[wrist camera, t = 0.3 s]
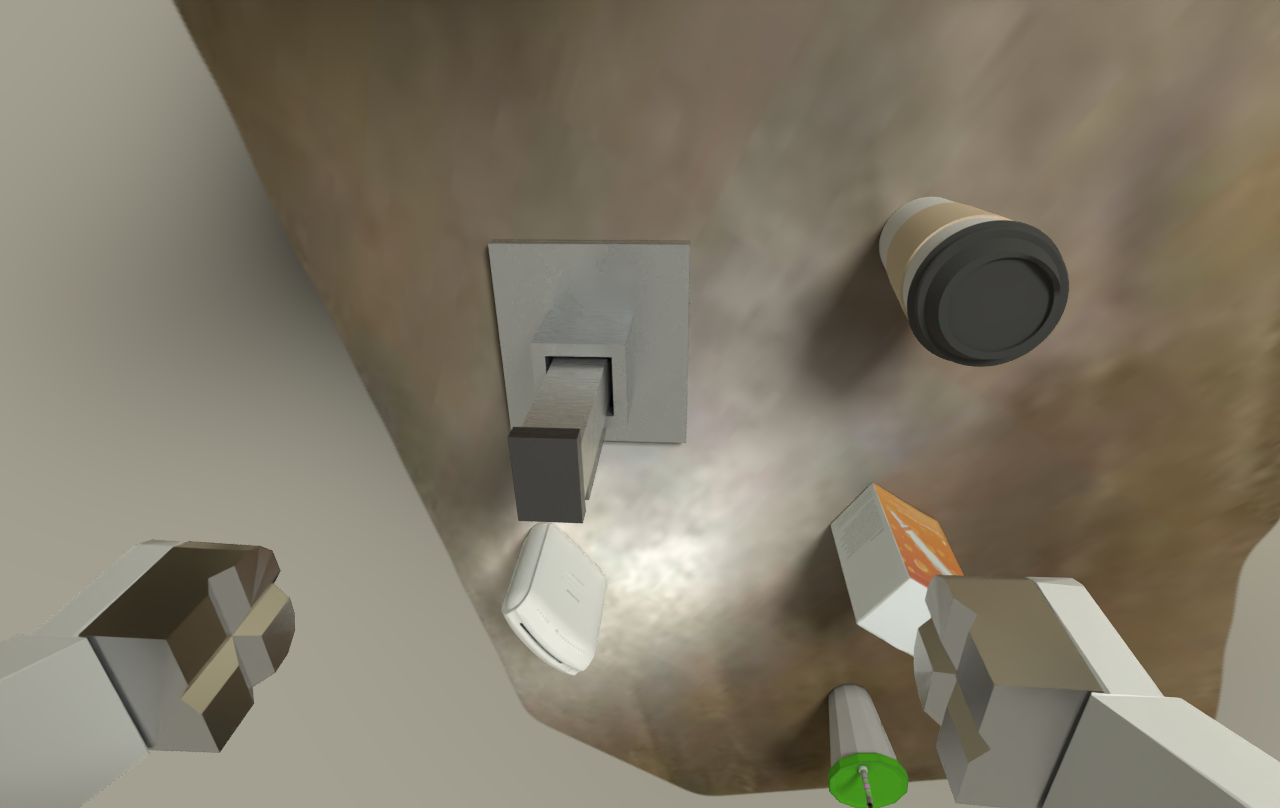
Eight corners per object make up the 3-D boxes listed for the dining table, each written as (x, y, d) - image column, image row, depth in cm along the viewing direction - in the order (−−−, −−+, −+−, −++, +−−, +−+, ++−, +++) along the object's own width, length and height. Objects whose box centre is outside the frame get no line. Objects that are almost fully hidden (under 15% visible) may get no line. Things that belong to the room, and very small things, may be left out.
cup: (870, 725, 78) (904, 864, 65) (804, 712, 78) (825, 848, 65) (894, 681, 74) (936, 819, 61) (826, 667, 74) (853, 802, 61)
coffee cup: (911, 320, 55) (978, 408, 41) (839, 243, 52) (886, 310, 39) (1011, 240, 51) (1118, 309, 38) (938, 154, 49) (1027, 195, 35)
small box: (938, 520, 64) (990, 624, 52) (892, 561, 66) (931, 669, 55) (872, 479, 62) (910, 577, 51) (827, 523, 65) (854, 626, 53)
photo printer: (614, 579, 71) (598, 677, 60) (583, 595, 72) (562, 693, 61) (551, 513, 67) (522, 604, 56) (520, 532, 69) (485, 624, 58)
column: (566, 317, 55) (507, 437, 38) (615, 317, 55) (576, 439, 38) (571, 382, 58) (518, 520, 41) (617, 383, 58) (582, 523, 41)
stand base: (492, 239, 54) (421, 305, 41) (690, 240, 53) (686, 308, 39) (515, 431, 63) (463, 538, 49) (686, 436, 61) (681, 547, 48)
